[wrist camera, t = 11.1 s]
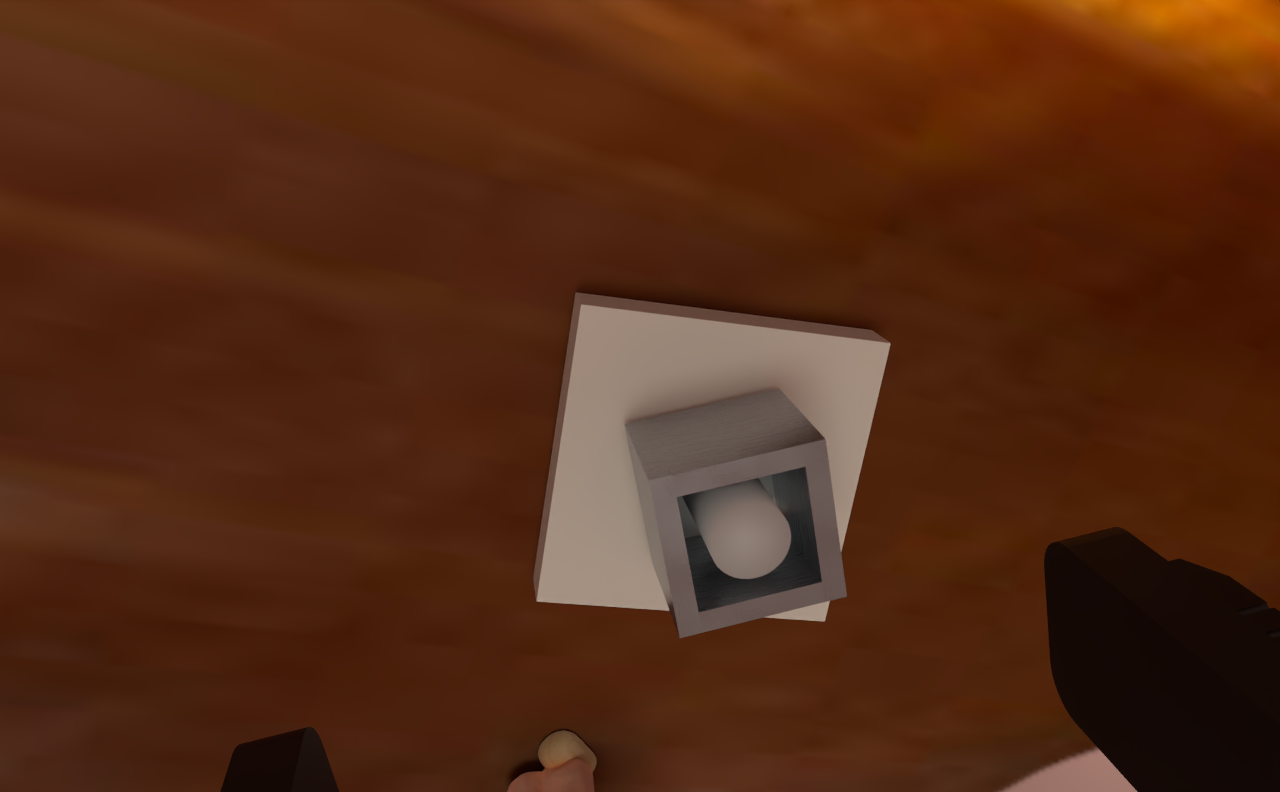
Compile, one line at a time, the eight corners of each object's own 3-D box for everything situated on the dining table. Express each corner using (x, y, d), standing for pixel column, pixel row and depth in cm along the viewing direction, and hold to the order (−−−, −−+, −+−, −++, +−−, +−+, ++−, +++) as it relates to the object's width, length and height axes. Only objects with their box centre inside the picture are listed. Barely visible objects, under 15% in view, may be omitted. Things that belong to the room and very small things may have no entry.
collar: (624, 424, 40) (648, 480, 35) (779, 388, 41) (825, 439, 36) (652, 564, 42) (679, 638, 37) (800, 529, 43) (846, 596, 38)
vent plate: (533, 577, 44) (548, 687, 37) (575, 292, 41) (601, 349, 33) (810, 597, 47) (877, 705, 39) (871, 329, 43) (958, 390, 36)
